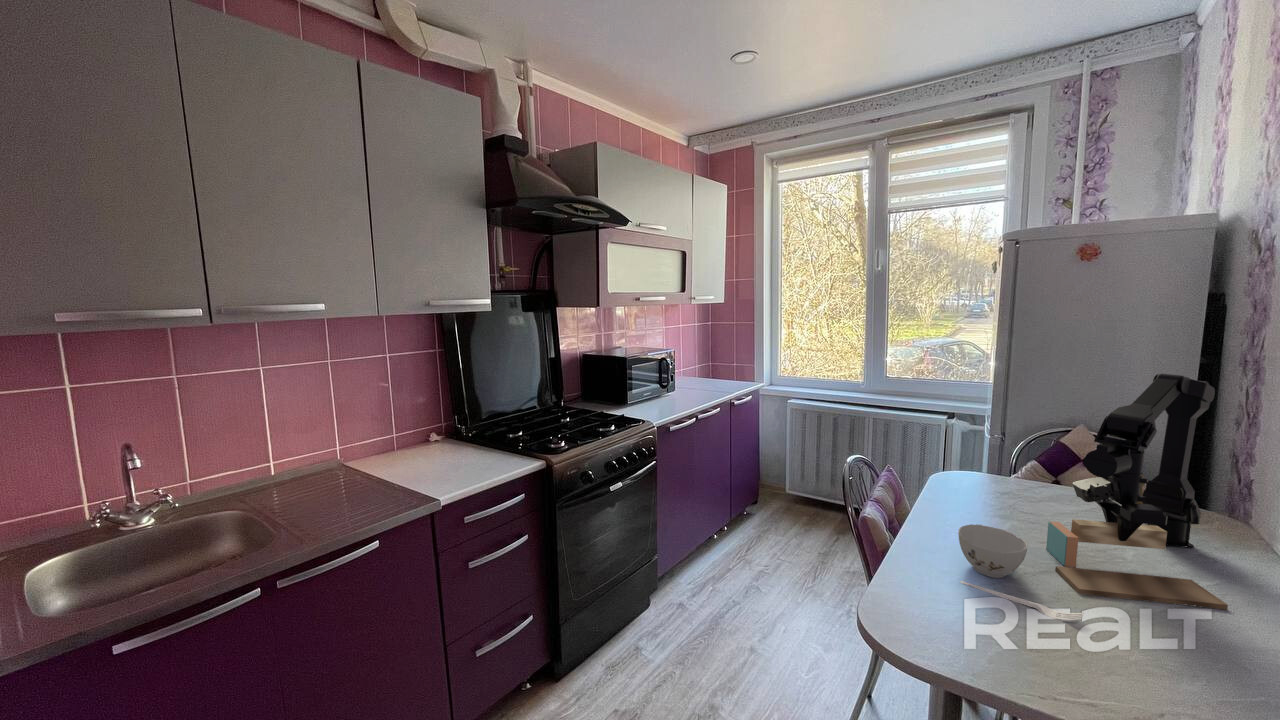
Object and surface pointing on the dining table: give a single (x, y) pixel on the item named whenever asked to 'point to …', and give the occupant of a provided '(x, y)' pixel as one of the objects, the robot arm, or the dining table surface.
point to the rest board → (1139, 587)
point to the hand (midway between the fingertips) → (1117, 537)
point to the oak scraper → (1109, 534)
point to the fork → (1034, 605)
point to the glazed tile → (1062, 544)
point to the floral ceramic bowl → (991, 549)
